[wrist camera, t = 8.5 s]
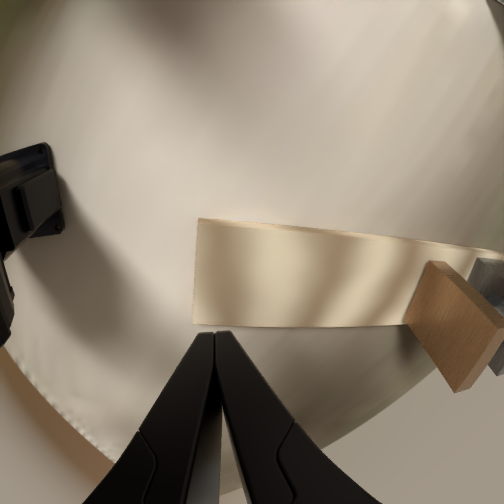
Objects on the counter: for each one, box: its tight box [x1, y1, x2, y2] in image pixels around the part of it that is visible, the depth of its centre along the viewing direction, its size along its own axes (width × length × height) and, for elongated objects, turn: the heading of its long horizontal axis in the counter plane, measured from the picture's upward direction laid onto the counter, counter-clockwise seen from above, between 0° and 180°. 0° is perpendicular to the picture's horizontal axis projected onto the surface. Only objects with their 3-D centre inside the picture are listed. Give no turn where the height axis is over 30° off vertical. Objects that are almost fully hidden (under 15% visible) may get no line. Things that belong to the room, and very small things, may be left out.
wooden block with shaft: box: [404, 260, 504, 393], centre depth 20 cm, size 12×6×9 cm, turn 82°
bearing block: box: [467, 257, 504, 376], centre depth 21 cm, size 5×7×9 cm
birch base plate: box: [193, 218, 504, 327], centre depth 24 cm, size 30×8×1 cm, turn 82°
